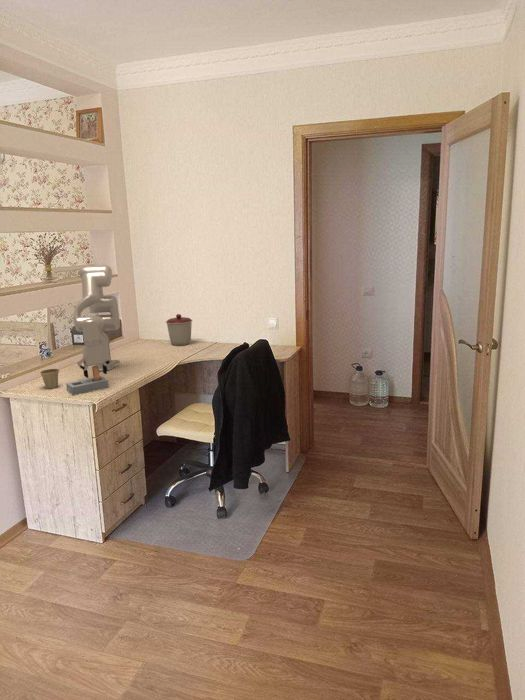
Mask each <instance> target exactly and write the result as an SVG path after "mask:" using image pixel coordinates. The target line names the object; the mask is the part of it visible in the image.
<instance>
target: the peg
mask: <svg viewBox="0 0 525 700" xmlns="http://www.w3.org/2000/svg"><path fill="white" fill-rule="evenodd" d="M91 371H92V378H93V379H94V381H99V380H100V378H99V376H100V371H99V369H98V366H95V365H93V366H91Z"/></svg>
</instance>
